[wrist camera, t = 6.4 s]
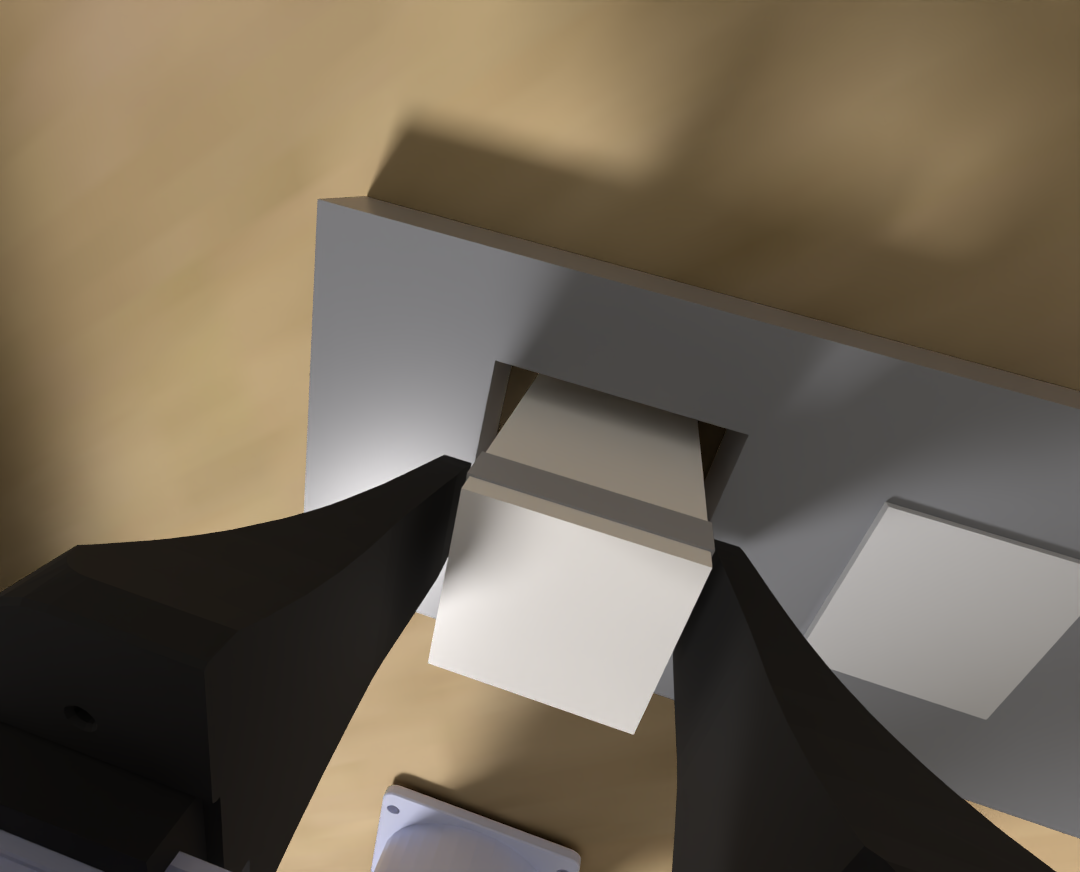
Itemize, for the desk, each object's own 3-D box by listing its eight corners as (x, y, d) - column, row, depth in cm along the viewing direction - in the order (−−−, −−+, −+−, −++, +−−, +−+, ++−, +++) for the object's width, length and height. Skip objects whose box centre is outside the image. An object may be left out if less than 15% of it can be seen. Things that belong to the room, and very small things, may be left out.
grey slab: (1496, 505, 11) (1756, 608, 8) (1140, 799, 16) (1237, 928, 13) (365, 195, 13) (288, 201, 11) (338, 533, 18) (279, 596, 15)
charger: (648, 545, 16) (635, 737, 10) (507, 501, 16) (425, 663, 11) (700, 414, 14) (716, 565, 8) (539, 367, 14) (459, 484, 9)
